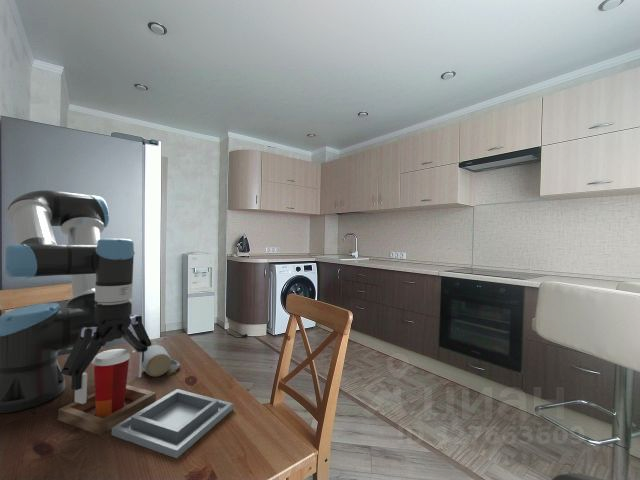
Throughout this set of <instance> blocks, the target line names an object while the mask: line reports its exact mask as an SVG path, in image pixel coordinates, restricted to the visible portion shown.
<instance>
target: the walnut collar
mask: <svg viewBox="0 0 640 480" xmlns="http://www.w3.org/2000/svg"><path fill="white" fill-rule="evenodd" d="M125 399H129V400H131V401H132V402H130V403H129V404H127V405H124V407H123V408H121V409H119V410H117V411H116V412H114V413H112V414H110V415H108V416H106V417H98V416H97V415H94V414H91V413H88V412H85V411H86V410H88V409H91V408H92V407H96V406H95V392H93V393H90V394H89V395H88V394H87V399H86V403H84V404H81V403H77V402H75V401H72V402H71V403H68V404H67V405H64V406H62V407H59V408H58V413H57V421H60V422H61V423H62V422H63V423H65V424H68V425H70V426H74V427H75V428H79V429H81V430H84V431H87V432H90V433H92V434H95V435H98V436H103V435H104V434H105V433H107V432H109V431H111V430H112V427H114V426H115V425H117V424H119V423H121V422H122V421H124V420H126V419H127V418H129V417H131V416H132V415H134V414H136V413H137V412H139V411H141V410H142V409H144V408H146V407H148V406H149V405H151V404H153V403H154V402H156V401H157V392H154V391H151V390H147V389H144V388H140V387H137V386H133V385H129V384H126V393H125Z"/></svg>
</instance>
